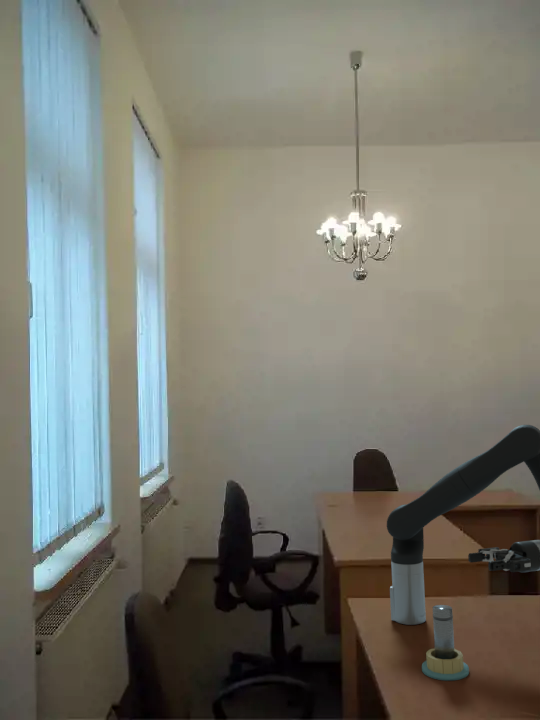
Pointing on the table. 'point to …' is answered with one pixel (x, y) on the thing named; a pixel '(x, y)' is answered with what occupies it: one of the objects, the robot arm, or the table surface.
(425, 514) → the robot arm
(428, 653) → the ring collar
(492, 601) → the table surface
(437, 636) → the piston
